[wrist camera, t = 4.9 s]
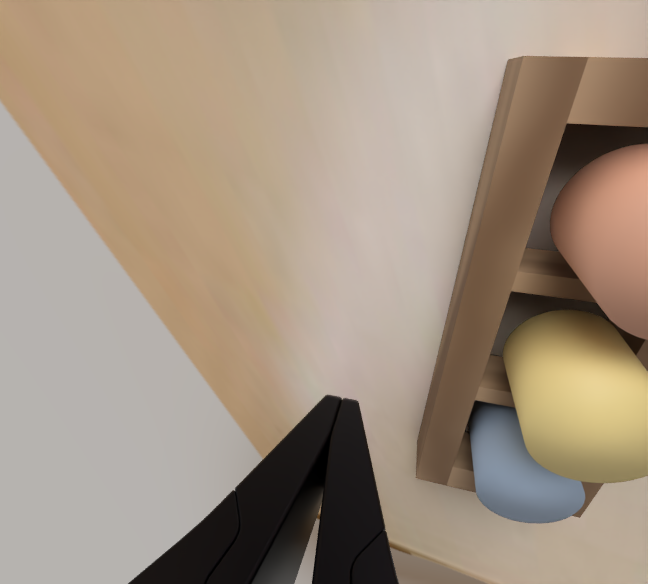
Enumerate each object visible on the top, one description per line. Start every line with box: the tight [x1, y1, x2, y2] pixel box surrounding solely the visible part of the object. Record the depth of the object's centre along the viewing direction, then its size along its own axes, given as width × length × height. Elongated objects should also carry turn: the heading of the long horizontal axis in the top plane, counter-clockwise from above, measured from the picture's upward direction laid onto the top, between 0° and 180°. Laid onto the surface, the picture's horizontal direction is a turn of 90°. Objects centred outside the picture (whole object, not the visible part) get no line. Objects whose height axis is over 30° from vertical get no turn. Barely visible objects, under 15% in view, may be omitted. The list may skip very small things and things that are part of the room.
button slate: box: [468, 400, 585, 523], centre depth 21 cm, size 5×5×5 cm
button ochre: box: [503, 310, 648, 483], centre depth 16 cm, size 5×5×5 cm
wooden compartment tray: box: [416, 56, 648, 518], centre depth 19 cm, size 10×24×3 cm, turn 178°
